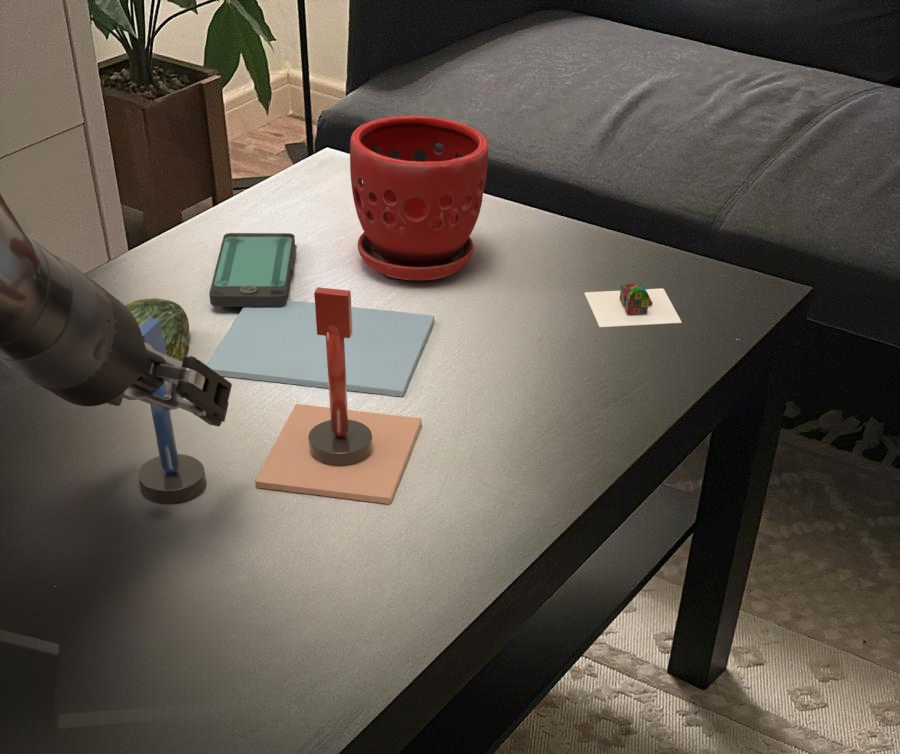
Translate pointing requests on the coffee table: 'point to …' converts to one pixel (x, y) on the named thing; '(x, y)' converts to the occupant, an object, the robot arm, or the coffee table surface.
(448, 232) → the flower pot
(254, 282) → the smartphone
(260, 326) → the blue mat
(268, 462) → the orange mat
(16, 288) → the robot arm
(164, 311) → the seashell
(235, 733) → the coffee table surface
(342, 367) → the red rod on disc
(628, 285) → the white paper mat
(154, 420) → the blue rod on disc
